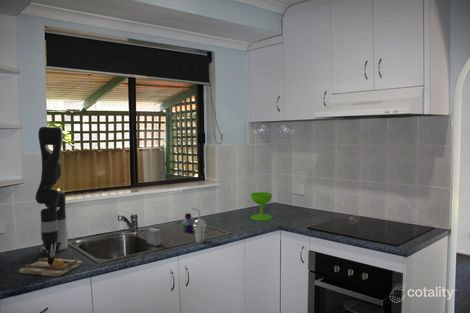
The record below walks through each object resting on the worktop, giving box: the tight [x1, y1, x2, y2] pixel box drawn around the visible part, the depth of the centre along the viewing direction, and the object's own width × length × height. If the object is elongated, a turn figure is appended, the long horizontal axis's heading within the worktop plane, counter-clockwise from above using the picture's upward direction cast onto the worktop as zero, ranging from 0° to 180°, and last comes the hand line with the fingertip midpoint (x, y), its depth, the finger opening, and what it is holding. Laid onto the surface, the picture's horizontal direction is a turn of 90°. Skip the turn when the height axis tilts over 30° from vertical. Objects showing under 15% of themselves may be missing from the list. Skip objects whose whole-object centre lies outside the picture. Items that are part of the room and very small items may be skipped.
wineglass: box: [250, 191, 273, 221], centre depth 293 cm, size 16×16×18 cm
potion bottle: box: [181, 212, 195, 233], centre depth 256 cm, size 9×9×12 cm
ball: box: [52, 258, 64, 268], centre depth 191 cm, size 5×5×5 cm
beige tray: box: [19, 257, 83, 277], centre depth 192 cm, size 17×22×4 cm
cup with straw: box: [191, 207, 208, 244], centre depth 233 cm, size 8×9×20 cm
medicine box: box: [146, 227, 162, 246], centre depth 230 cm, size 8×4×9 cm, turn 48°
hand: (51, 264), depth 192 cm, fingers closed
